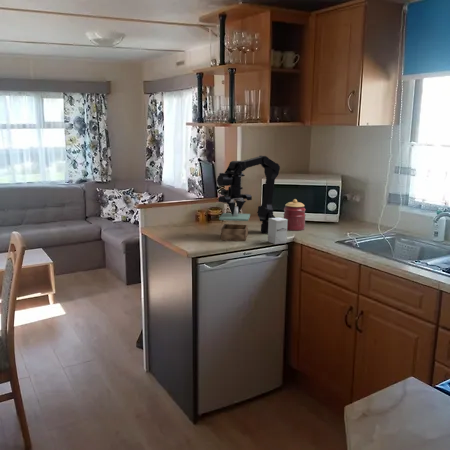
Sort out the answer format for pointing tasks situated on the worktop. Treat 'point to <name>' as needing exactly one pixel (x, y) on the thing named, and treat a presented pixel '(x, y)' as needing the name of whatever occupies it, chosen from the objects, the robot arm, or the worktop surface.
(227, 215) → the lid
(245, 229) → the box
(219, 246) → the worktop surface
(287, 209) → the canister
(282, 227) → the supplement box
